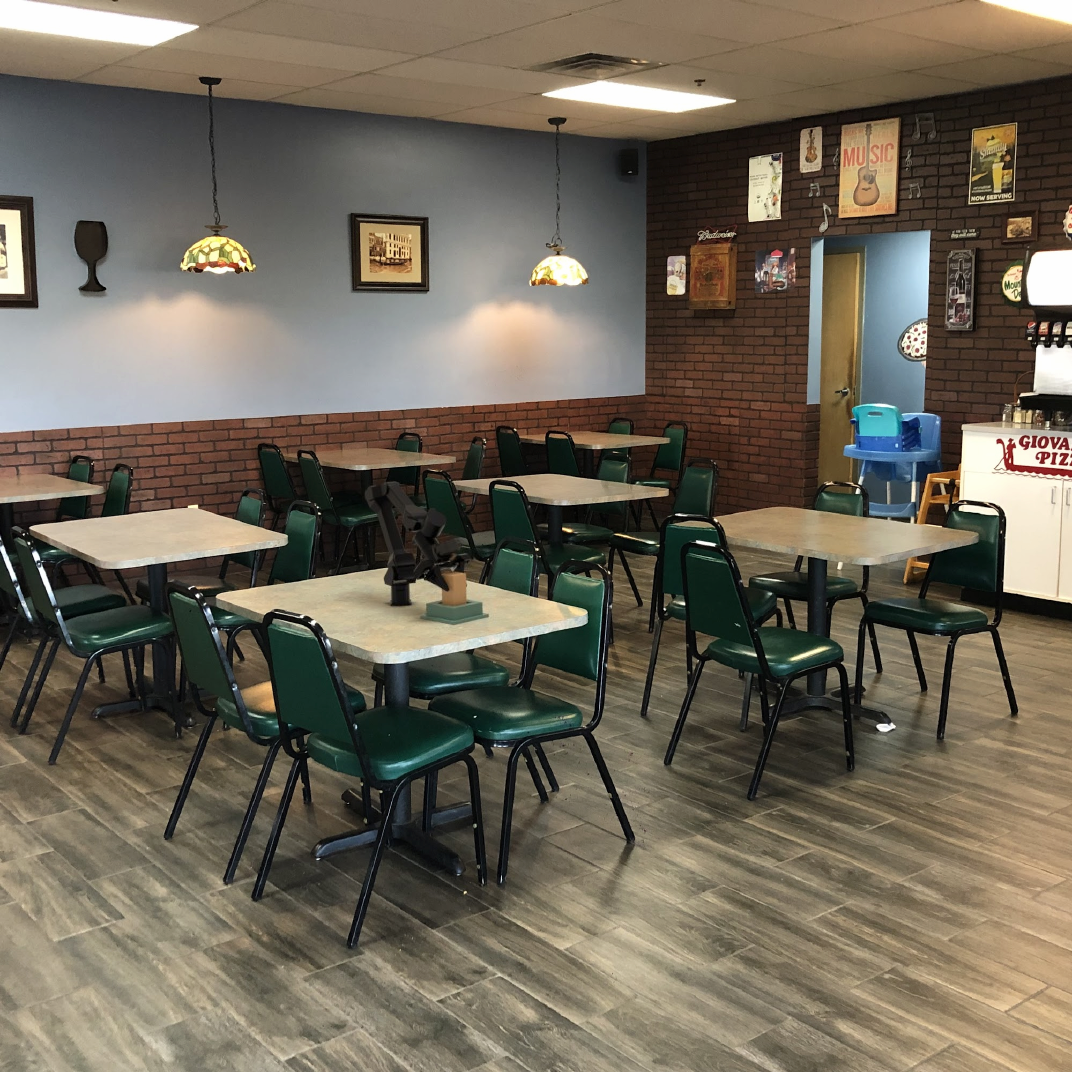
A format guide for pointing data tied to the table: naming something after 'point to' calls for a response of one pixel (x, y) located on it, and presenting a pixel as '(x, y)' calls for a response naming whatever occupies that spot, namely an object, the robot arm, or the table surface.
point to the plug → (454, 589)
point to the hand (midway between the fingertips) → (457, 588)
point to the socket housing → (454, 612)
